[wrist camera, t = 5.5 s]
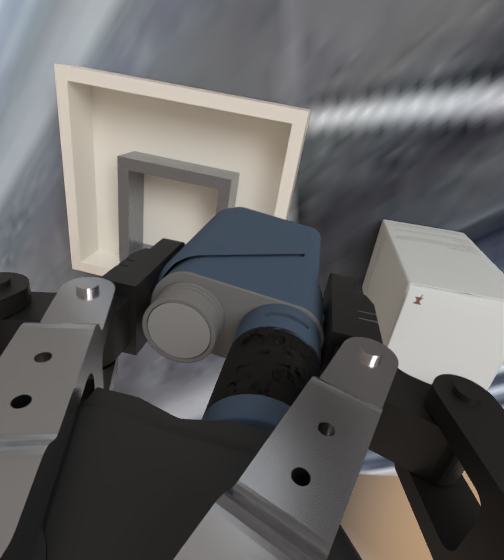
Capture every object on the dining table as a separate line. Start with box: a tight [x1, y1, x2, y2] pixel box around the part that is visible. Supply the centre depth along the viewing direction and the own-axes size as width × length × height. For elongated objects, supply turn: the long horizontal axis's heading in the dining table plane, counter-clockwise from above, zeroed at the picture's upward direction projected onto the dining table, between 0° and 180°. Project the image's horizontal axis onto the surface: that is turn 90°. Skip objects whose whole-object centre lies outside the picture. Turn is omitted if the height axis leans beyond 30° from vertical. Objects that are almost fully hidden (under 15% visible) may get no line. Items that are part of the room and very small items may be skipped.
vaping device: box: [142, 207, 324, 432], centre depth 11 cm, size 3×5×12 cm, turn 76°
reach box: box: [54, 64, 311, 276], centre depth 33 cm, size 18×20×4 cm
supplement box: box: [362, 219, 504, 390], centre depth 28 cm, size 7×7×13 cm
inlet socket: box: [117, 151, 240, 262], centre depth 34 cm, size 10×10×3 cm
